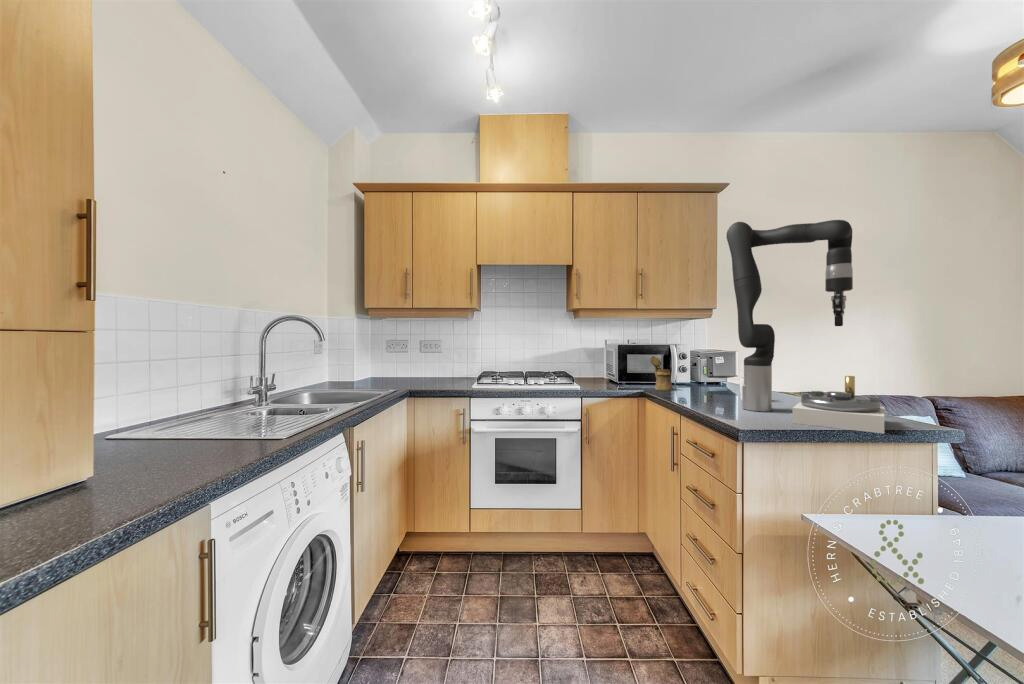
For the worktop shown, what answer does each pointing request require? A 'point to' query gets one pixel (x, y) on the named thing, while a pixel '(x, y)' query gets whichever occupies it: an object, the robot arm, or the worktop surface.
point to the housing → (840, 418)
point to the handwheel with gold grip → (841, 399)
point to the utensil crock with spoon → (661, 376)
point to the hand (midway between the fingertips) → (838, 326)
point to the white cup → (741, 385)
